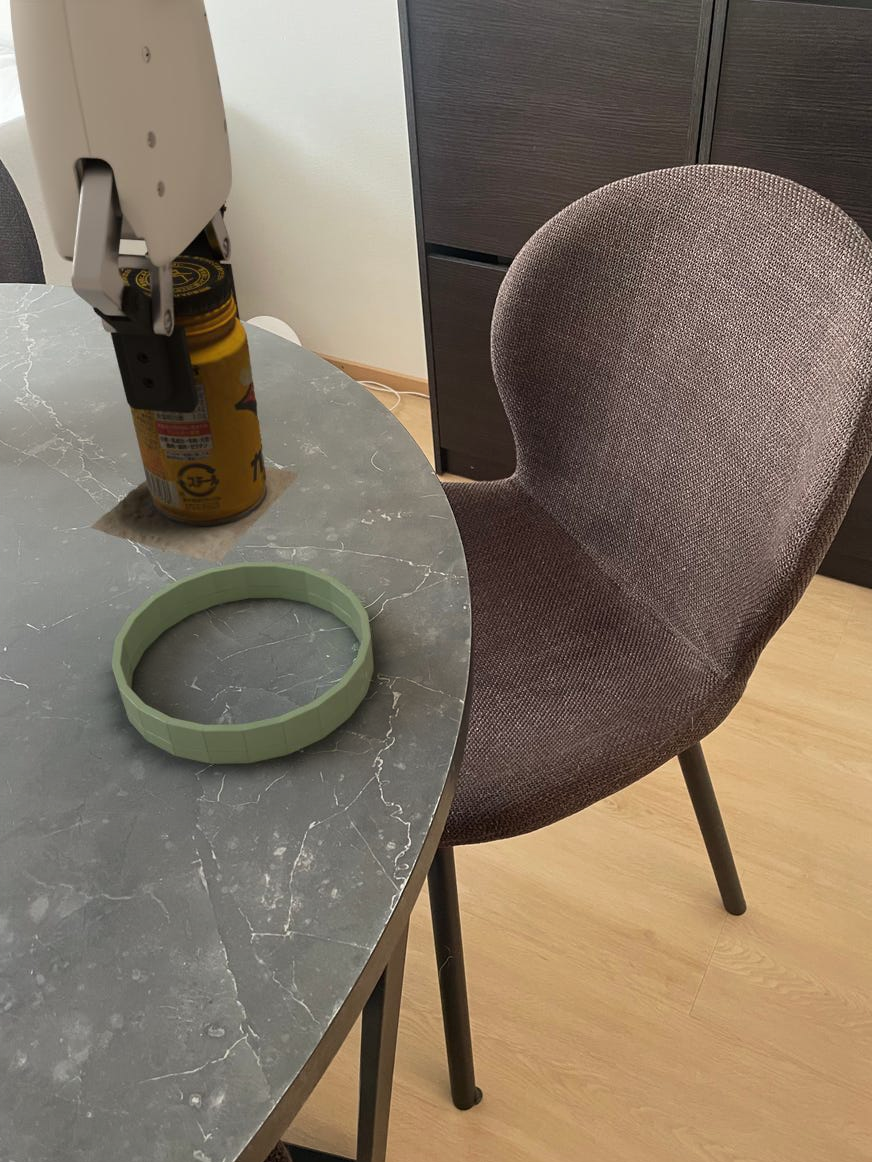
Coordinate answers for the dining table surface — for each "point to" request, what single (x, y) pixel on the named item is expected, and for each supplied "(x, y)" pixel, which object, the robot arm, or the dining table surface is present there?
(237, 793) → the dining table surface
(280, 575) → the green faceted hoop
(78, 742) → the dining table surface
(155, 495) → the yellow coffee can
